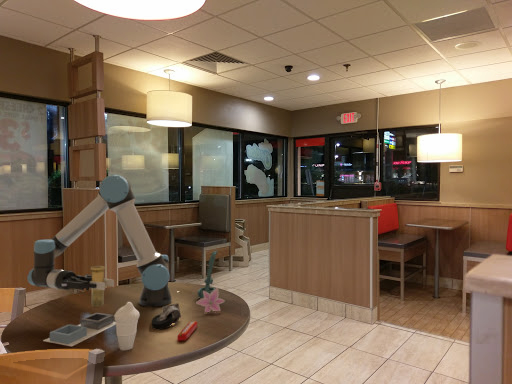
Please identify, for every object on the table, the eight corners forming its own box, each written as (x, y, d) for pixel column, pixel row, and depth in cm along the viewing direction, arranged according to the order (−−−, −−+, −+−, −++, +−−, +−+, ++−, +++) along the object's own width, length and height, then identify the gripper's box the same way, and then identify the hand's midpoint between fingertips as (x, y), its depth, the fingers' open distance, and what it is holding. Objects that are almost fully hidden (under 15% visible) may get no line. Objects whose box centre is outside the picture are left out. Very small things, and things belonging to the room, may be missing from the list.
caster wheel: (153, 336, 142) (154, 323, 151) (182, 328, 144) (181, 316, 153) (149, 321, 140) (150, 309, 150) (179, 313, 143) (178, 302, 152)
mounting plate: (93, 320, 150) (93, 318, 150) (119, 325, 146) (119, 322, 146) (42, 343, 127) (42, 340, 127) (71, 349, 123) (71, 346, 123)
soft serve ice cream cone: (107, 350, 123) (108, 303, 123) (124, 341, 131) (125, 296, 131) (127, 355, 120) (128, 306, 120) (144, 345, 128) (144, 299, 128)
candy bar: (189, 326, 146) (189, 319, 146) (198, 327, 146) (198, 319, 146) (175, 342, 131) (175, 334, 131) (185, 343, 130) (185, 335, 130)
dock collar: (68, 332, 135) (68, 324, 135) (86, 335, 133) (87, 327, 133) (49, 340, 127) (49, 332, 127) (68, 344, 125) (68, 335, 125)
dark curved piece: (207, 308, 174) (226, 259, 175) (188, 299, 176) (207, 250, 177) (215, 302, 188) (232, 257, 189) (197, 294, 190) (215, 249, 191)
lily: (191, 315, 162) (195, 299, 158) (201, 298, 173) (205, 283, 168) (216, 325, 161) (220, 309, 157) (225, 307, 171) (229, 292, 167)
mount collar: (96, 319, 149) (96, 312, 149) (113, 322, 146) (113, 315, 146) (80, 326, 141) (80, 319, 141) (98, 329, 138) (98, 322, 138)
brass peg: (105, 302, 147) (106, 265, 147) (103, 306, 142) (103, 268, 141) (91, 303, 145) (92, 266, 145) (89, 307, 140) (89, 268, 140)
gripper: (78, 283, 157) (123, 288, 150) (43, 294, 141) (92, 300, 133) (78, 266, 157) (123, 270, 150) (43, 275, 141) (92, 280, 133)
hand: (108, 284), depth 142 cm, fingers closed on brass peg, 4 cm apart
